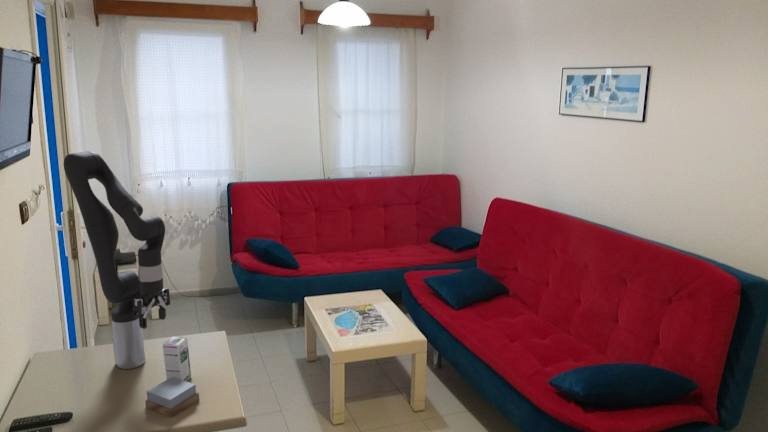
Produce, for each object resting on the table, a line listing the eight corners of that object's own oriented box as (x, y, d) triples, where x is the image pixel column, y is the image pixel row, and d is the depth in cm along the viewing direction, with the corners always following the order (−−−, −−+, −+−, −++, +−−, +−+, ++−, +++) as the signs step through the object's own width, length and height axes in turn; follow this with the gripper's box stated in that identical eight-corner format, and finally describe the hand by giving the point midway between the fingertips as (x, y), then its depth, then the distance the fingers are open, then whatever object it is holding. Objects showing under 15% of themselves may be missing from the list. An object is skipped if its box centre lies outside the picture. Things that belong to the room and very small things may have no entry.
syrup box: (182, 386, 192) (178, 345, 189) (166, 384, 193) (162, 343, 190) (191, 377, 198) (188, 337, 194) (175, 375, 199) (171, 335, 195)
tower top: (147, 400, 179) (146, 391, 179) (173, 385, 188) (172, 376, 187) (170, 408, 175) (170, 399, 174) (196, 393, 183) (195, 384, 183)
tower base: (146, 409, 180) (145, 400, 179) (174, 392, 189) (173, 384, 189) (172, 419, 175) (171, 410, 174) (199, 401, 184) (198, 392, 184)
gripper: (157, 269, 201) (159, 314, 205) (125, 281, 188) (127, 329, 192) (174, 272, 198) (176, 318, 202) (143, 285, 186) (146, 333, 189)
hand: (153, 323), depth 197 cm, fingers open, 8 cm apart
